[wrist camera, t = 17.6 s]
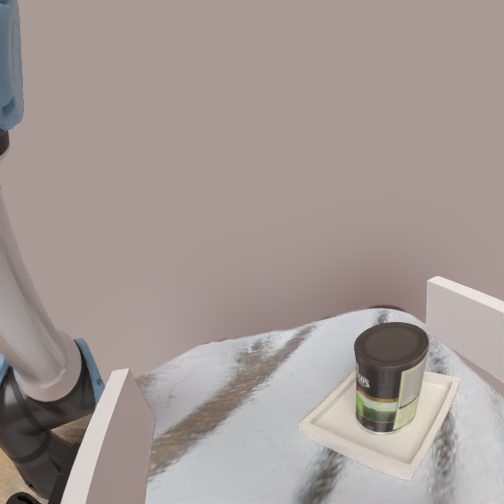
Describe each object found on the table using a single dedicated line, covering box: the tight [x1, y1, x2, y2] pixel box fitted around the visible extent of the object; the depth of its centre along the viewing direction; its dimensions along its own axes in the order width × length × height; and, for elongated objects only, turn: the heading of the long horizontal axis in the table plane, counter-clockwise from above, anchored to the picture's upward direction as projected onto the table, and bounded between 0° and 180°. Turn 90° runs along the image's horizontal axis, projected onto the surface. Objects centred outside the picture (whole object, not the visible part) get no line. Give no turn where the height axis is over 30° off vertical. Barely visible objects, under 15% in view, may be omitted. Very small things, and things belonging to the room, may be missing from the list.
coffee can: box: [354, 322, 429, 435], centre depth 32 cm, size 10×10×14 cm
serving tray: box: [298, 369, 461, 482], centre depth 34 cm, size 20×20×2 cm
